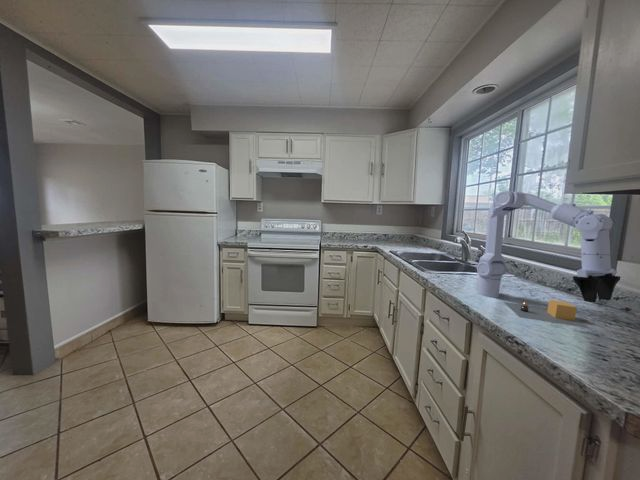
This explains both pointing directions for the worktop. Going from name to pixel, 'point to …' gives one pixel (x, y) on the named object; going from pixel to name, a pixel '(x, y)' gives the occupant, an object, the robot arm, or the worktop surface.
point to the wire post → (524, 307)
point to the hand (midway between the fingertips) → (597, 300)
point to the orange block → (562, 310)
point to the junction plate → (541, 315)
